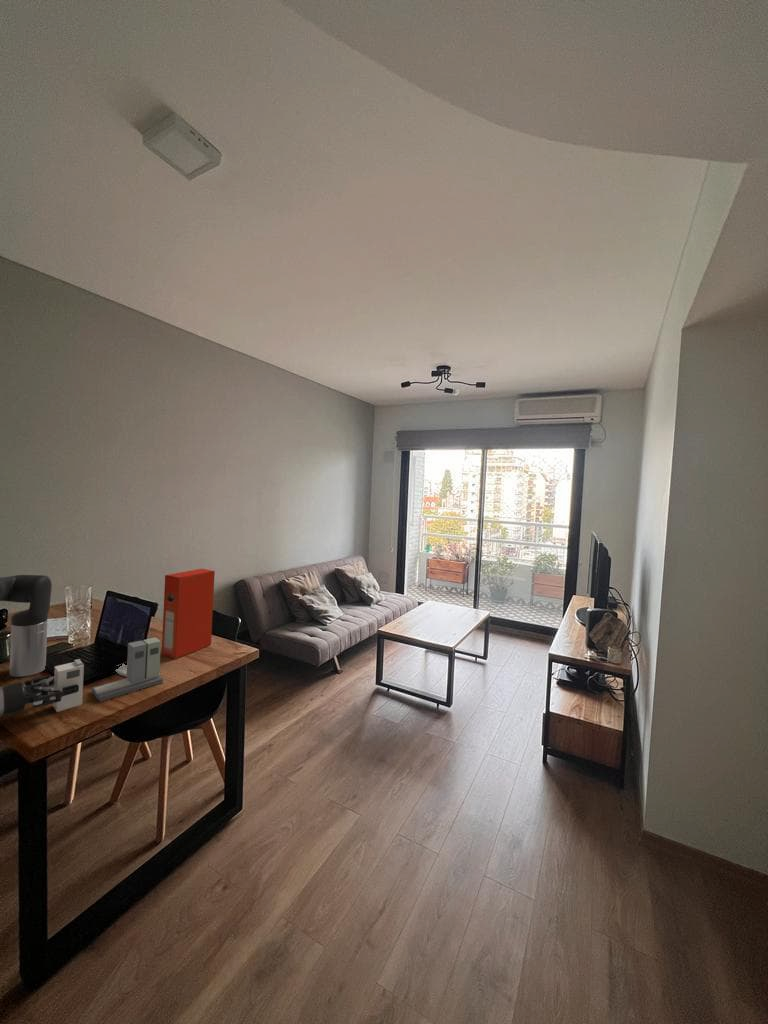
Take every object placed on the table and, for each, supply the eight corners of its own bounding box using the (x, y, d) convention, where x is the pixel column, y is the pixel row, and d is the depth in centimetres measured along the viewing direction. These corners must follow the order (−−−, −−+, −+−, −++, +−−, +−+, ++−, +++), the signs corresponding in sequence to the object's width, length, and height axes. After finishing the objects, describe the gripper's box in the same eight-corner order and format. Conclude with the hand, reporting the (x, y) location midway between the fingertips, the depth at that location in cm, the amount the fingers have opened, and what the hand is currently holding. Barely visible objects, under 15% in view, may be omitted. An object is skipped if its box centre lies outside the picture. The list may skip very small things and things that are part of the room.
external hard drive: (134, 681, 136) (110, 672, 140) (155, 671, 143) (132, 663, 148) (134, 676, 136) (110, 668, 140) (156, 667, 143) (132, 659, 148)
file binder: (161, 654, 156) (165, 574, 155) (197, 640, 172) (201, 568, 170) (175, 659, 153) (179, 577, 151) (210, 645, 169) (215, 571, 167)
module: (53, 706, 117) (54, 663, 116) (78, 698, 122) (79, 658, 121) (56, 712, 114) (58, 669, 114) (82, 704, 119) (84, 663, 118)
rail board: (92, 692, 126) (93, 648, 125) (153, 674, 140) (155, 635, 139) (99, 702, 121) (101, 656, 120) (162, 683, 135) (164, 642, 134)
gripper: (4, 698, 102) (81, 678, 114) (-4, 678, 111) (68, 662, 123) (3, 726, 102) (80, 704, 114) (-5, 704, 111) (67, 685, 123)
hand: (74, 682), depth 119 cm, fingers open, 8 cm apart
